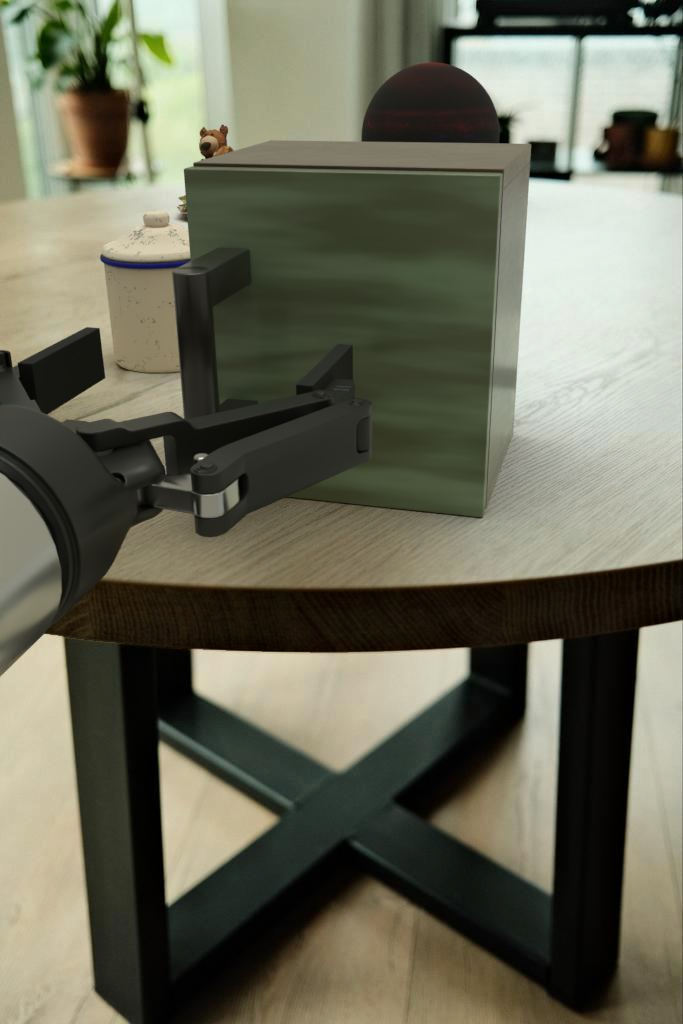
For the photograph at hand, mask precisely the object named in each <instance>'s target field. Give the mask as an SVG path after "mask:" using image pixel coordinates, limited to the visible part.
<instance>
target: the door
mask: <svg viewBox="0 0 683 1024" xmlns="http://www.w3.org/2000/svg"><path fill="white" fill-rule="evenodd" d="M183 177H184V178H183V179H184V191H185V192H184V194H185V195H186V206H187V214H186V217H187V218H186V219H187V231H188V233H189V246H190V259H191V261H190V262H188V263H186V264H184V265H182V266H180V267H178V268H176V269H174V270H173V271H172V281H173V293H174V305H175V317H176V329H177V341H178V352H179V364H180V372H179V374H180V375H179V376H180V387H181V399H182V413H183V418H184V419H185V420H187V419H192V418H196V417H201V416H205V415H210V414H214V413H219V412H223V411H228V410H232V409H237V408H241V407H246V406H250V405H255V404H259V403H264V402H268V401H273V400H277V399H282V398H286V397H291V396H295V395H296V384H297V383H298V382H299V381H300V380H301V379H302V378H303V377H304V376H305V375H306V374H307V373H308V372H310V371H311V370H312V369H313V368H314V367H315V366H316V365H317V364H318V363H319V362H320V361H321V360H322V359H323V358H324V357H325V356H326V355H327V354H328V353H329V352H330V351H331V350H332V349H333V348H334V347H335V346H336V345H337V344H346V345H353V380H354V383H355V398H362V399H367V400H369V401H371V402H372V458H371V459H370V460H369V461H367V462H364V463H362V464H360V465H358V466H355V467H353V468H351V469H349V470H346V471H344V472H342V473H339V474H337V475H335V476H333V477H330V478H328V479H326V480H324V481H321V482H319V483H317V484H314V485H312V486H310V487H308V488H305V489H303V490H301V491H299V492H296V493H294V494H292V495H289V496H287V497H286V498H294V499H303V500H311V501H312V500H313V501H321V502H323V501H324V502H333V503H340V504H352V505H360V506H370V507H379V508H389V509H398V510H410V511H418V512H425V513H437V514H444V515H445V514H446V515H455V516H465V517H474V518H483V517H484V515H485V512H486V509H485V508H486V488H487V469H488V450H489V431H490V412H491V393H492V373H493V354H494V335H495V316H496V297H497V278H498V259H499V239H500V220H501V201H502V182H503V174H502V173H490V172H441V171H392V170H343V169H294V168H245V167H196V166H193V165H192V166H188V167H185V168H183Z"/></svg>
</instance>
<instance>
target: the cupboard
mask: <svg viewBox="0 0 683 1024" xmlns="http://www.w3.org/2000/svg"><path fill="white" fill-rule="evenodd" d="M531 156H532V144H531V143H500V142H499V143H428V142H362V141H354V140H353V141H351V140H349V141H342V140H341V141H340V140H338V141H337V140H277V139H276V140H274V139H273V140H272V139H271V140H267V141H264V142H261V143H257V144H253V145H250V146H246V147H242V148H240V149H236V150H234V151H232V152H229V153H225V154H222V155H218V156H215V157H211V158H208V159H205V158H204V159H205V160H201V159H200V160H198V161H195V162H193V163H192V166H196V167H245V168H294V169H343V170H392V171H441V172H490V173H502V174H503V182H502V201H501V220H500V239H499V259H498V278H497V297H496V316H495V335H494V354H493V373H492V393H491V412H490V431H489V450H488V469H487V488H486V508H485V510H487V509H488V506H489V503H490V500H491V497H492V495H493V492H494V489H495V486H496V484H497V480H498V477H499V475H500V472H501V470H502V467H503V463H504V461H505V458H506V456H507V453H508V450H509V447H510V444H511V441H512V438H513V436H514V427H515V425H514V424H515V410H516V397H517V395H516V394H517V381H518V380H517V379H518V365H519V364H518V363H519V347H520V346H519V345H520V332H521V318H522V317H521V316H522V315H521V314H522V300H523V299H522V298H523V284H524V283H523V282H524V269H525V267H524V265H525V251H526V250H525V249H526V237H527V236H526V234H527V220H528V219H527V218H528V207H529V206H528V203H529V186H530V173H531V172H530V171H531Z"/></svg>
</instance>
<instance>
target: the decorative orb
mask: <svg viewBox="0 0 683 1024" xmlns="http://www.w3.org/2000/svg"><path fill="white" fill-rule="evenodd" d="M361 127H362V128H361V142H428V143H500V121H499V117H498V113H497V110H496V106H495V104H494V102H493V100H492V98H491V96H490V94H489V93H488V91H487V90H486V89H485V87H484V86H483V85H482V83H481V82H480V81H479V80H477V78H475V77H474V76H473V75H472V74H470V73H468V72H467V71H466V70H464V69H462V68H460V67H457V66H455V65H452V64H448V63H445V62H444V63H443V62H422V63H417V64H413V65H410V66H408V67H405V68H403V69H401V70H400V71H399V70H398V71H397V72H396V73H394V74H393V75H391V77H389V78H387V80H385V82H383V83H382V84H381V86H380V87H379V88H378V89H377V90H376V92H375V93H374V95H373V96H372V98H371V100H370V102H369V104H368V106H367V108H366V110H365V114H364V117H363V121H362V126H361Z"/></svg>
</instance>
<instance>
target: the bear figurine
mask: <svg viewBox="0 0 683 1024" xmlns="http://www.w3.org/2000/svg"><path fill="white" fill-rule="evenodd" d="M228 134H229V127H228V126H227V125H224V124H221V125H220V127H219V129H206V127H205V126H203V127H202V128H201V129H200V130H199V136H200V139H199V143H198V144H199V145H198V147H199V151H200V154H201V156H202V157H204V158H201V159H200V161H201V160H205V159H208V158H211V157H215V156H218V155H222V154H225V153H229V152H232V151H235V150H234V149H233V148H232V146H230V145H228V139H227V136H228ZM178 200H179V201H181V202H182V204H178V206H176V208H177V210H178V211H179V213H180V215H184V214H186V215H187V206H186V194H184V195H183V196H179V197H178Z"/></svg>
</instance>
